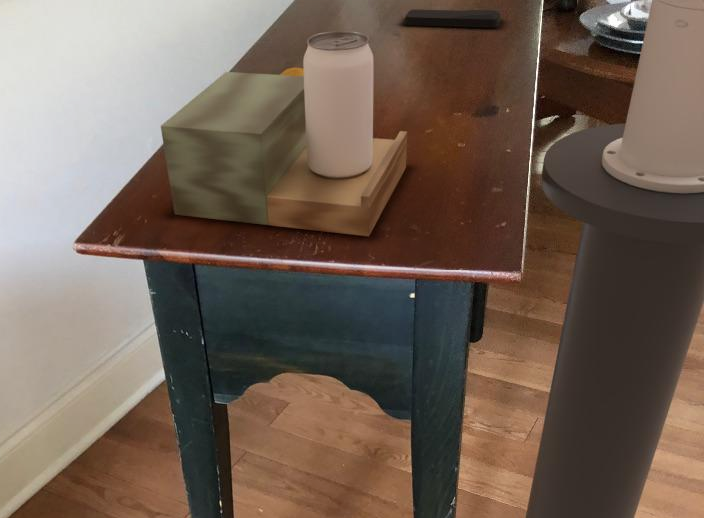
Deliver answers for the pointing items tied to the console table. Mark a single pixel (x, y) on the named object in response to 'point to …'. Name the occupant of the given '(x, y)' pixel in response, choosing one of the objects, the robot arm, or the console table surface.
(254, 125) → the green block on base
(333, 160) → the can
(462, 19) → the remote control
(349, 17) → the console table surface
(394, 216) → the console table surface
